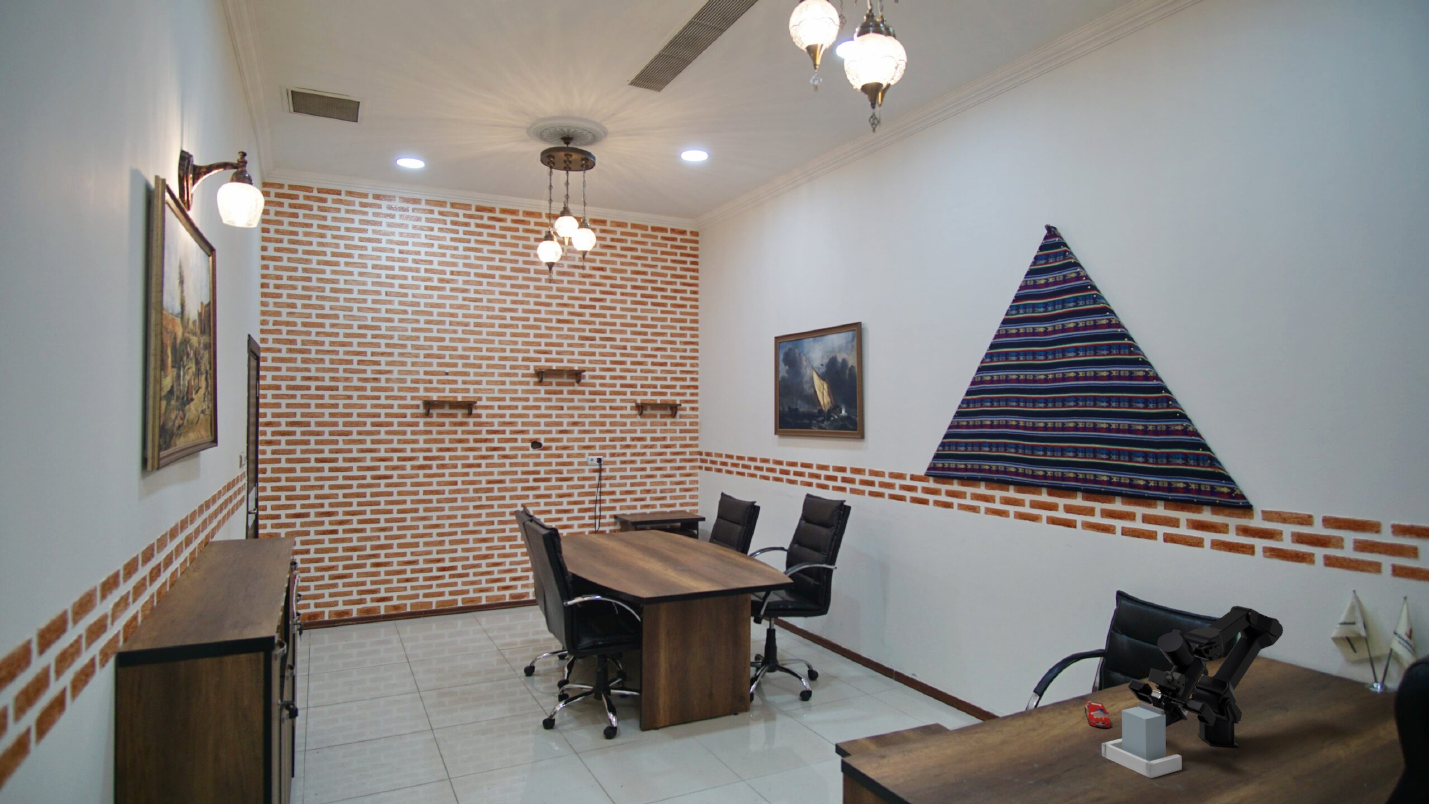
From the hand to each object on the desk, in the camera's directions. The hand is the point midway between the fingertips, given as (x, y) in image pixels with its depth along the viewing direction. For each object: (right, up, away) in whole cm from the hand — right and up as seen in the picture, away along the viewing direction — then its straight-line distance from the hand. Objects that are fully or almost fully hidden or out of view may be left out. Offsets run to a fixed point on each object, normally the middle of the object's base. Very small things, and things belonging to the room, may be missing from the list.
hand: (1154, 730), depth 180 cm
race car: (-2, -8, +24) cm, 25 cm away
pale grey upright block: (-4, -7, -2) cm, 8 cm away
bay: (-4, -7, -2) cm, 8 cm away
